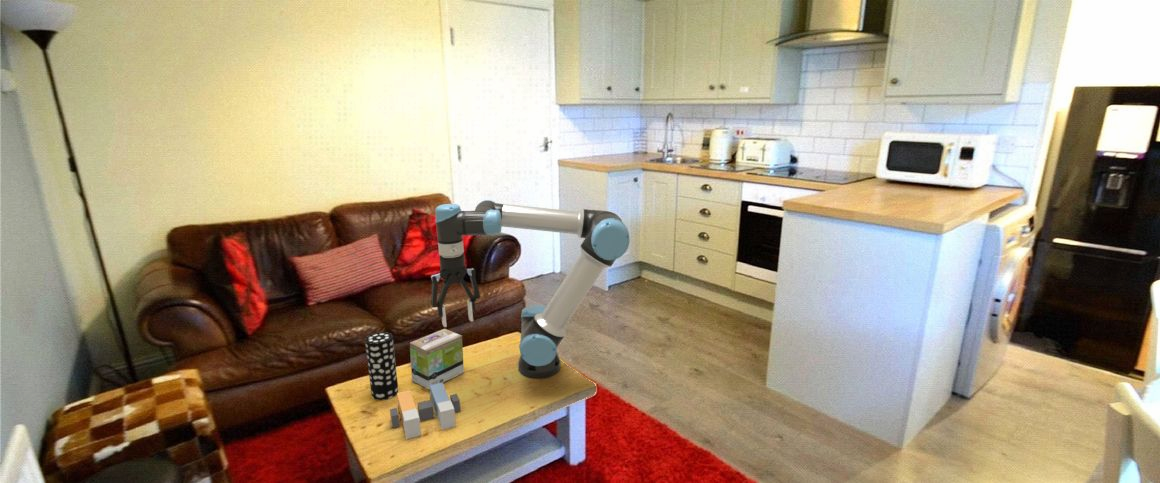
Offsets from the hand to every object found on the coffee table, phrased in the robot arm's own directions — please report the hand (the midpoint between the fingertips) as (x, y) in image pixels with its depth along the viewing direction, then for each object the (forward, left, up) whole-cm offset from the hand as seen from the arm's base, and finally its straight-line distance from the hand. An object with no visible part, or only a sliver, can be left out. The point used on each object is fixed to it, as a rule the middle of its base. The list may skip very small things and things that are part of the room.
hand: (457, 322), depth 169 cm
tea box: (+5, -12, -25) cm, 28 cm away
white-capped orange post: (+18, +10, -25) cm, 32 cm away
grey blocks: (+13, +10, -24) cm, 30 cm away
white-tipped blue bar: (+8, +10, -25) cm, 28 cm away
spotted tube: (+23, -9, -25) cm, 35 cm away
